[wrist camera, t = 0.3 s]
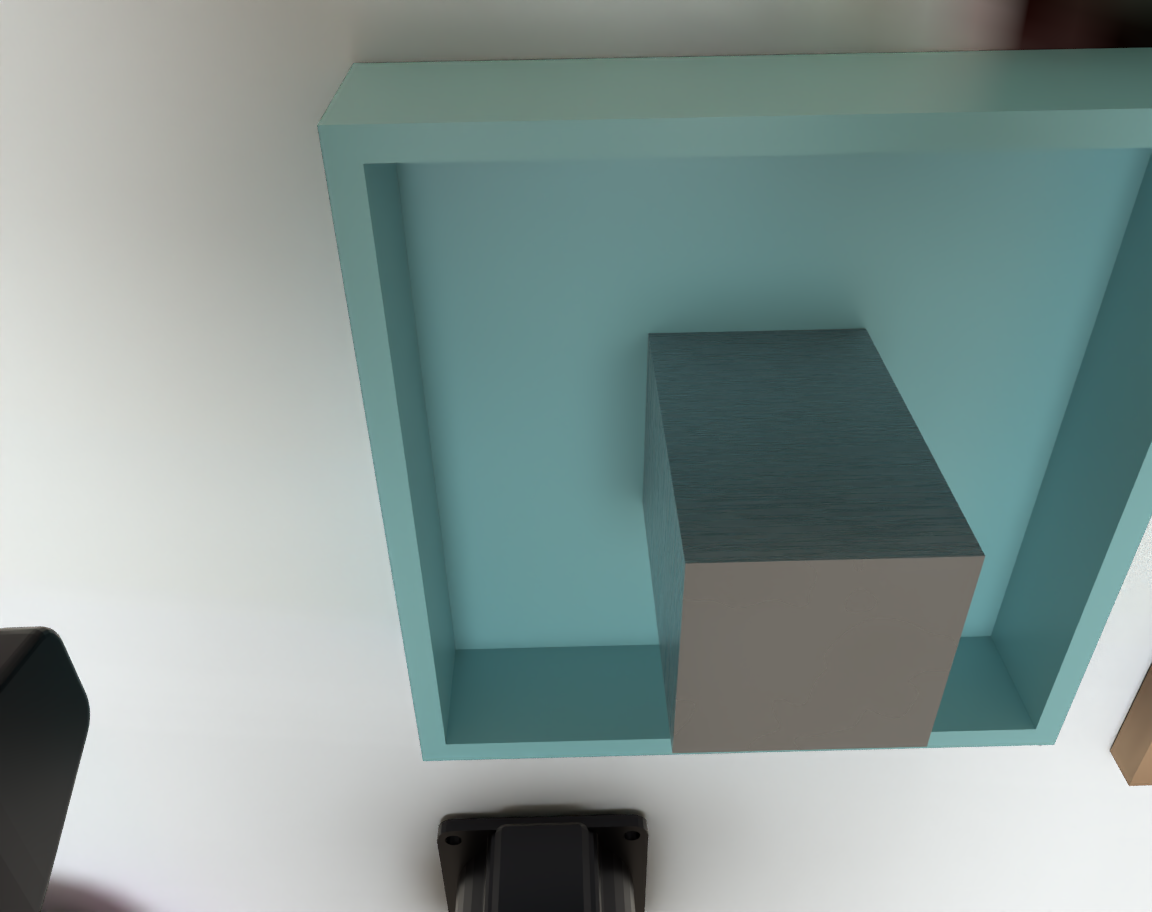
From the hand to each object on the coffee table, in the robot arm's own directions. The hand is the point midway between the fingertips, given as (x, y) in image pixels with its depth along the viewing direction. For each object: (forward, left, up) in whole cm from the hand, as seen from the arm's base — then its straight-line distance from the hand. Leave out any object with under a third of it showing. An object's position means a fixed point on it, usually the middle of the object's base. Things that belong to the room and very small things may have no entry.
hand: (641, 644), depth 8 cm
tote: (-7, -3, -13) cm, 15 cm away
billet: (-7, -3, -13) cm, 15 cm away
